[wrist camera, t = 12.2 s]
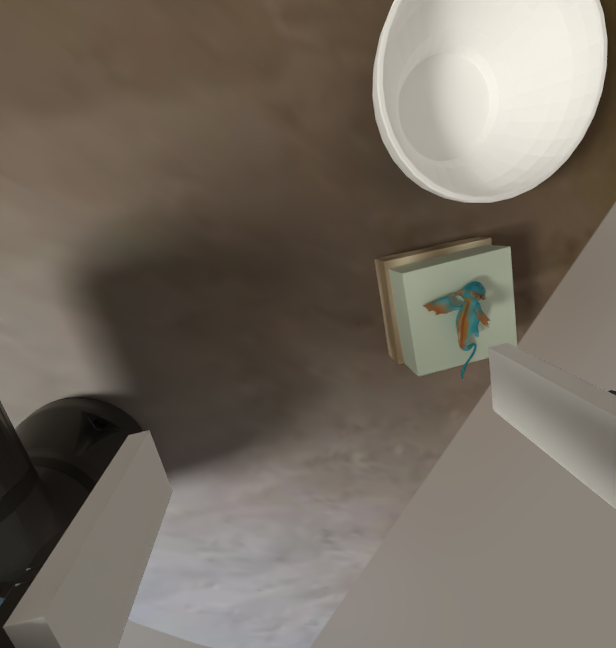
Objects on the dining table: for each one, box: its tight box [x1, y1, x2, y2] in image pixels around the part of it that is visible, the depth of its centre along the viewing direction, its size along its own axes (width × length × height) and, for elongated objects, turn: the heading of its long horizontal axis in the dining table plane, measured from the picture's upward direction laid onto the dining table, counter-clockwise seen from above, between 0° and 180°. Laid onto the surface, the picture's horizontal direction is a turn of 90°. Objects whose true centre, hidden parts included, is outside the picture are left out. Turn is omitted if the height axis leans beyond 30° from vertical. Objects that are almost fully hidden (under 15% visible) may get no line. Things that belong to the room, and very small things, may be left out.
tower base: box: [375, 237, 492, 365], centre depth 42 cm, size 12×12×4 cm
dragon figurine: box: [423, 281, 490, 378], centre depth 36 cm, size 6×7×8 cm
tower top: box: [389, 244, 517, 376], centre depth 39 cm, size 11×11×4 cm
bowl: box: [372, 0, 607, 203], centre depth 34 cm, size 20×20×10 cm
